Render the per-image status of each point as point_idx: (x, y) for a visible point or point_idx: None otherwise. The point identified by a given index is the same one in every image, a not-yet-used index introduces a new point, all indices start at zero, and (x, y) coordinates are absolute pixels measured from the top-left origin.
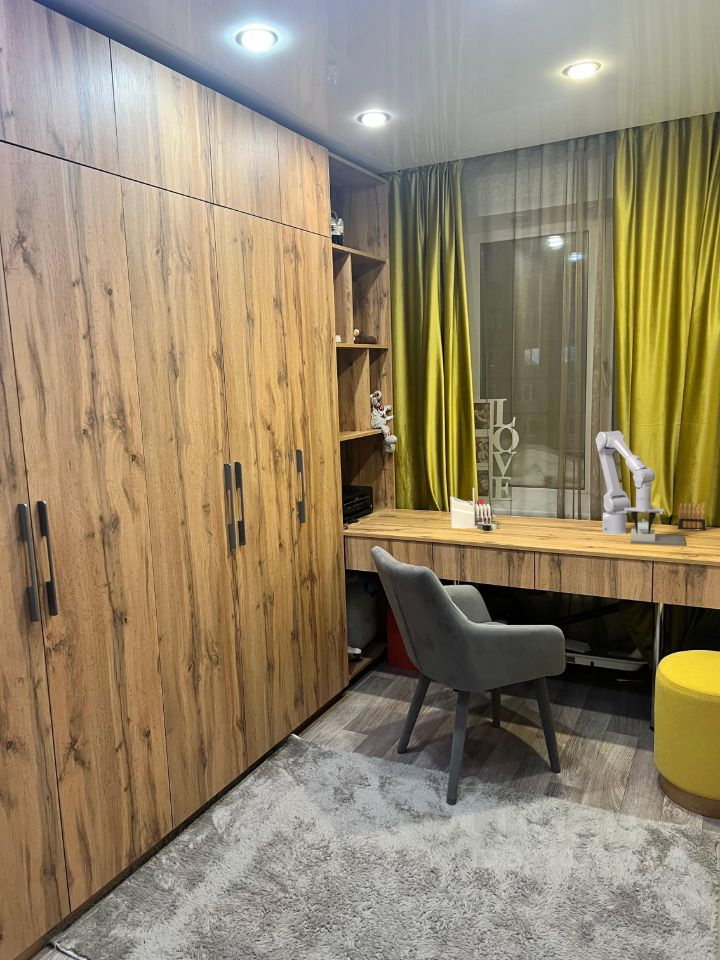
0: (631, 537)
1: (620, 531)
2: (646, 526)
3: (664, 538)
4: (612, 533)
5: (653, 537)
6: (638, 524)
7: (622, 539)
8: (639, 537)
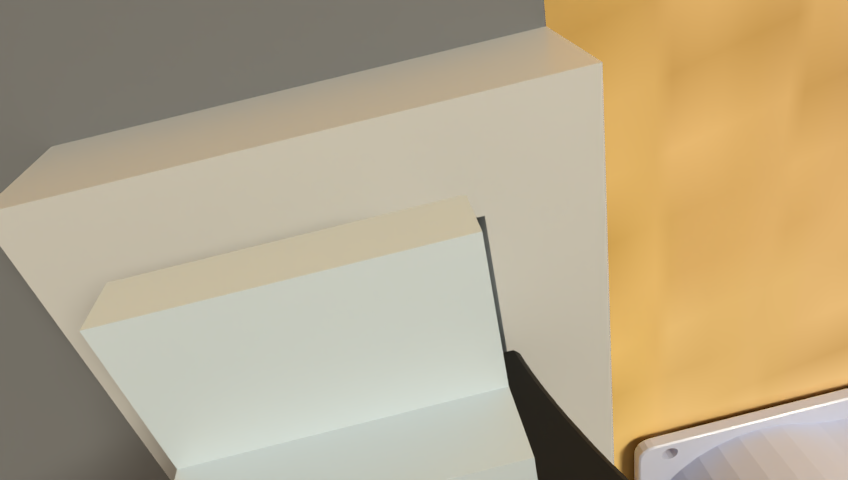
0: (555, 43)
1: (723, 470)
2: (210, 409)
3: (39, 420)
4: (807, 405)
5: (42, 174)
6: (498, 427)
7: (680, 209)
8: (374, 94)
